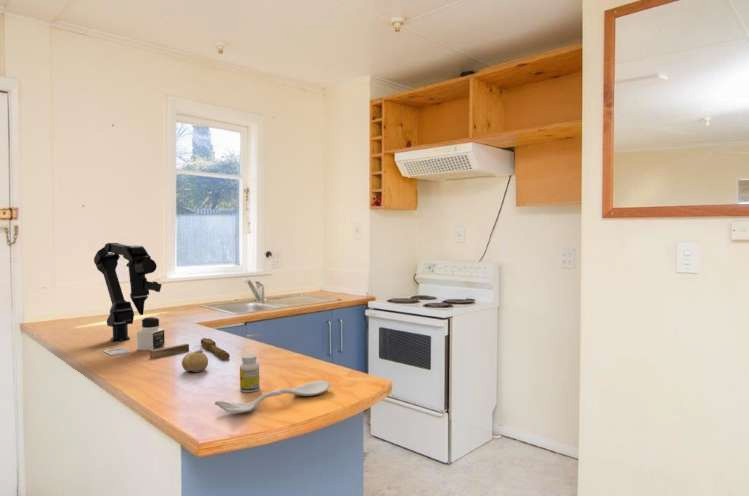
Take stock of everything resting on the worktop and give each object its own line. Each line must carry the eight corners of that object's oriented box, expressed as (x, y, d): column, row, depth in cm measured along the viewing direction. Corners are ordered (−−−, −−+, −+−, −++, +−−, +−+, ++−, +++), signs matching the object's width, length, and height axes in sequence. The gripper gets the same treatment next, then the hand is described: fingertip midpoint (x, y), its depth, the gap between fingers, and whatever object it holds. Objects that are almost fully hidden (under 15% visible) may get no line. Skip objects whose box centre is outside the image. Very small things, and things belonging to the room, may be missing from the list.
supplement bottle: (242, 387, 145) (241, 353, 144) (260, 386, 145) (260, 353, 145) (238, 393, 139) (237, 358, 139) (258, 392, 140) (257, 358, 139)
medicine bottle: (153, 351, 189) (152, 319, 189) (137, 350, 191) (136, 319, 190) (165, 346, 196) (164, 316, 196) (149, 345, 198) (148, 316, 197)
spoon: (214, 413, 125) (213, 400, 125) (318, 386, 146) (318, 374, 146) (230, 424, 118) (230, 409, 118) (337, 393, 139) (336, 381, 139)
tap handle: (221, 353, 174) (199, 337, 199) (221, 361, 174) (199, 345, 199) (230, 351, 176) (207, 336, 201) (230, 360, 176) (207, 344, 201)
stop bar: (150, 357, 180) (150, 350, 179) (186, 349, 190) (185, 343, 190) (153, 358, 178) (152, 351, 178) (189, 350, 189) (188, 344, 189)
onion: (192, 376, 156) (192, 353, 156) (176, 372, 161) (176, 350, 160) (213, 369, 163) (212, 348, 163) (197, 366, 167) (197, 345, 167)
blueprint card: (102, 350, 190) (102, 350, 190) (122, 347, 194) (122, 347, 194) (110, 355, 182) (110, 354, 182) (130, 352, 187) (130, 351, 187)
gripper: (160, 272, 195) (165, 311, 194) (157, 275, 212) (161, 312, 210) (129, 275, 190) (133, 316, 189) (128, 278, 206) (132, 316, 205)
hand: (141, 315), depth 198 cm, fingers closed
